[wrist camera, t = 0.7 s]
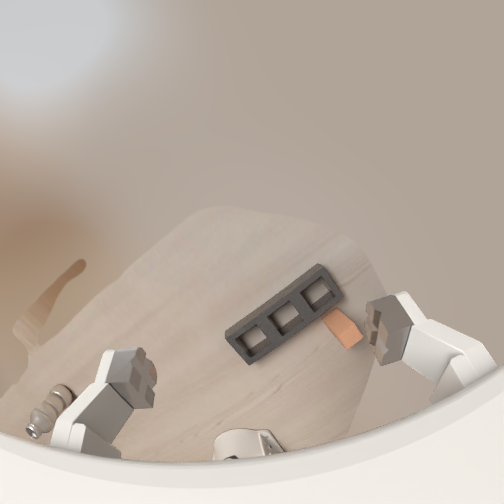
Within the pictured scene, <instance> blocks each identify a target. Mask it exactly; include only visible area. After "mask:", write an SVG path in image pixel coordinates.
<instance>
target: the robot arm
mask: <svg viewBox="0 0 504 504" xmlns="http://www.w3.org/2000/svg"><path fill="white" fill-rule="evenodd" d="M366 312H367V313H368V316H367V317H366V319H365V332H366V336H367V339H368V341H369V343H370V344H372V345H374V346H375V351H374V353H375V355H376V357H377V359H378V362H379V364H380V366H383V365H386V364H390V363H393V362H395V361H398V360H402V361H403V362H404V363H406V364H407V365H408V366H410V367H411V368H413V369H414V370H416V371H417V372H419V373H420V374H421V375H423V376H424V377H426V378H427V379H429V380H430V381H431V382H433V383H434V384H436V385H437V386H436V388H435V390H434V391H433V393H432V395H431V397H430V401H431V403H432V405H431V406H429V407H427V408H425V409H422V410H420V411H418V412H416V413H413V414H411V415H409V416H406V417H404V418H401V419H399V420H396V421H394V422H391V423H389V424H386V425H383V426H380V427H378V428H375V429H372V430H369V431H366V432H363V433H360V434H357V435H354V436H350V437H347V438H343V439H340V440H336V441H333V442H329V443H325V444H321V445H317V446H312V447H308V448H303V449H299V450H294V451H288V452H284V451H283V449H282V448H281V446H280V445H279V444H278V442H277V441H276V440H275V438H274V437H273V435H272V434H271V432H270V431H269V430H258V431H255V430H249V429H234V430H230V431H226V432H224V433H222V434H221V435H219V436H218V437H217V438H216V439H215V441H214V445H213V447H214V454H213V456H212V458H213V461H197V462H161V461H141V460H128V459H121V452H120V450H118V449H117V448H116V447H114V446H113V445H111V443H112V442H113V440H114V439H115V437H116V436H117V435H118V433H119V432H120V430H121V429H122V427H123V426H124V424H125V423H126V421H127V420H128V418H129V417H130V415H131V414H132V412H133V411H134V409H145V408H153V403H154V396H155V393H154V391H153V390H152V388H153V387H154V386H155V385H156V382H157V373H156V368H155V366H154V364H153V363H152V361H151V360H149V359H147V358H145V357H146V352H145V351H144V350H143V348H139V347H138V348H125V349H114V350H106V351H105V352H104V354H103V357H102V360H101V363H100V366H99V369H98V372H97V376H96V379H95V382H94V383H91V384H90V385H89V386H88V387H87V388H86V389H85V390H84V391H83V393H82V394H81V395H80V396H79V397H78V398H77V399H76V400H75V401H74V402H73V403H72V404H71V405H70V406H69V407H68V408H67V409H66V410H65V411H64V412H63V414H62V415H61V416H60V417H59V418H58V419H57V421H56V424H55V428H54V431H53V435H52V439H51V443H50V446H46V445H43V444H39V443H35V442H32V441H29V440H25V439H22V438H19V437H16V436H13V435H10V434H7V433H4V432H2V431H0V504H504V364H503V365H501V366H500V367H497V365H496V363H495V362H494V361H493V359H492V357H491V356H490V354H489V353H488V352H487V350H486V349H485V347H484V346H483V344H482V343H481V342H479V341H477V340H475V339H473V338H471V337H469V336H466V335H464V334H462V333H460V332H458V331H456V330H454V329H451V328H449V327H447V326H445V325H443V324H441V323H439V322H436V321H434V320H432V319H429V320H427V318H426V317H425V316H424V314H423V313H422V312H421V310H420V309H419V308H418V306H417V305H416V303H415V302H414V301H413V299H412V298H411V297H410V295H409V294H408V293H407V292H406V291H403V292H399V293H396V294H393V295H390V296H386V297H383V298H380V299H377V300H373V301H370V302H368V303H367V305H366ZM267 436H268V437H267Z"/></svg>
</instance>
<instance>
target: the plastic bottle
mask: <svg viewBox="0 0 504 504" xmlns="http://www.w3.org/2000/svg"><path fill="white" fill-rule="evenodd" d="M71 402H72V395H71V392H70V391H69V390H68V389H67V388H66V387H64V386H62V385H56V386H54V387H53V388H52V389H51V390H50V392H49V395H48V396H47V398H46V399H45V401H44V402H43V403H42V404H41V405H39V406H38V407H37V408H36V409H34V410H33V411H32V412H31V415H30V423H29V424H28V426H27V427H26V432H27V433H28V434H29V435H30V436H31V437H32V438H34V439H38V438H39V437H40V436H41V435H42V433H48V432H50V431H52V429H53V427H54V425H55V422H56V420H57V419H58V417H59V415H60V414H61V413H62V412H63V411H64V410H65V409H66V408H67V407H68V406H70V404H71Z"/></svg>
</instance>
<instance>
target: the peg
mask: <svg viewBox="0 0 504 504" xmlns="http://www.w3.org/2000/svg"><path fill="white" fill-rule="evenodd" d="M322 320H323V321H324V323H325V324H326V325H327V327H328V328H329V330H330V331H331V332H332V333H333V335H334V336H335V337H336V338H337V339H338V340H339V341H340V342H341V344H342V345H343V346H344V347H345V348H346V349H347V350H348V349H349V348H351V347H352V346H353V345H354V344H356V343H357V342H358V341H359V340H361V339H362V338H363V336H362V335H361V333H360V331H359V330H358V328H357V327H356V325H355V324H354V323H353V322H352V321H351V320H350V319H349V318H347V317H346V316H345V315H344V314H343V313H342V312H341V311H339V310H338V309H337V308H335V309H334V310H333V311H332V312H330V313H329V314H328V315H326V316H325V317H324V318H322Z"/></svg>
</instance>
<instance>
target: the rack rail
mask: <svg viewBox="0 0 504 504" xmlns="http://www.w3.org/2000/svg"><path fill="white" fill-rule="evenodd" d="M319 277H320V278H321V280H322V281H323V283H324V284H325V286H326V287H327V289H328V290H329V292H328V293H327V294H325V295H324V296H323V297H321V298H320V299H319V300H318V301H316V302H315V303H314V304H312V305H311V306H309V305H308V303H307V302H306V301H305V299H304V298H303V296H302V295H301V294H300V292H301V291H302V290H304V289H305V288H306V287H307V286H309V285H310V284H311V283H313V282H314V281H315V280H317V279H318V278H319ZM342 298H343V295H342V294H341V292H340V291H339V289H338V288H337V286H336V285H335V283H334V282H333V280H332V279H331V277H330V276H329V274H328V273H327V271H326V270H325V268H324V267H323V266H322V265H320V264H318V263H317V264H316V265H315V266H313V267H312V268H311V269H309V270H308V271H307V272H305V273H304V274H303V275H301V276H300V277H299V278H298V279H296V280H295V281H294V282H292V283H291V284H290V285H288V286H287V287H286V288H284V289H283V290H282V291H280V292H279V293H278V294H276V295H275V296H273V297H272V298H271V299H269V300H268V301H267V302H265V303H264V304H263V305H261V306H260V307H258V308H257V309H256V310H254V311H253V312H251V313H250V314H249V315H247V316H246V317H244V318H243V319H242V320H240V321H239V322H237V323H236V324H235V325H233V326H232V327H230V328H229V329H228V330H226V331H225V339H226V340H227V341H228V343H229V344H230V345H231V346H232V347H233V348H234V349H235V351H236V352H237V353H238V354H239V355H240V356H241V357H242V358H243V359H244V361H245V362H246V363H247V364H248V365H251V364H252V363H254V362H255V361H257V360H258V359H260V358H261V357H263V356H264V355H266V354H267V353H269V352H270V351H272V350H273V349H275V348H276V347H277V346H279V345H280V344H282V343H283V342H285V341H286V340H287V339H289V338H290V337H292V336H293V335H294V334H296V333H297V332H299V331H300V330H301V329H303V328H304V327H305V326H307V325H308V324H309V323H311V322H312V321H313V320H315V319H316V318H317V317H319V316H320V315H321V314H323V313H324V312H325V311H326V310H328V309H329V308H330V307H332V306H333V305H334V304H335V303H337V302H338V301H339V300H341V299H342ZM289 300H290V302H291V303H292V304H293V306H294V307H295V308H296V310H297V311H298V313H299V315H298V316H296V317H295V318H294V319H292V320H291V321H290V322H288V323H287V324H285V325H284V326H283V327H281V328H280V329H278V327H277V326H276V325H275V324H274V322H273V321H272V320H271V319H270V317H269V316H268V315H270V314H271V313H273V312H274V311H275V310H277V309H278V308H279V307H281V306H282V305H283V304H285V303H286V302H288V301H289ZM254 325H257V326H258V327H259V328H260V329H261V331H262V332H263V333H264V334H265V335H266V337H267V338H266V339H264V340H263V341H261V342H260V343H259V344H257V345H256V346H254V347H253V348H251V349H250V350H249V349H248V348H247V347H246V346H245V345H244V344H243V343H242V341H241V340H240V339H239V338H238V337H239V336H240V335H242V334H243V333H244V332H246V331H247V330H249V329H250V328H252V327H253V326H254Z"/></svg>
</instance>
